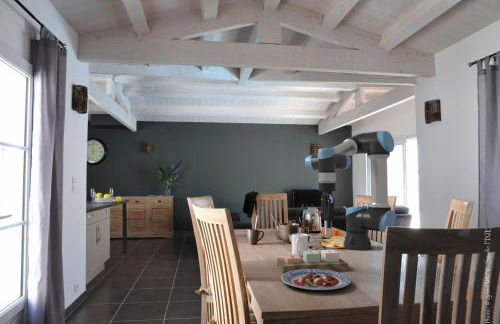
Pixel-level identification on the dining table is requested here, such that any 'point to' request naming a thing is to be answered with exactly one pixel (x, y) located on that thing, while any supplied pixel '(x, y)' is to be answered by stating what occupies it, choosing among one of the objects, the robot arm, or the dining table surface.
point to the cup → (299, 244)
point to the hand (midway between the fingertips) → (328, 234)
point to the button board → (312, 265)
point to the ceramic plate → (316, 279)
